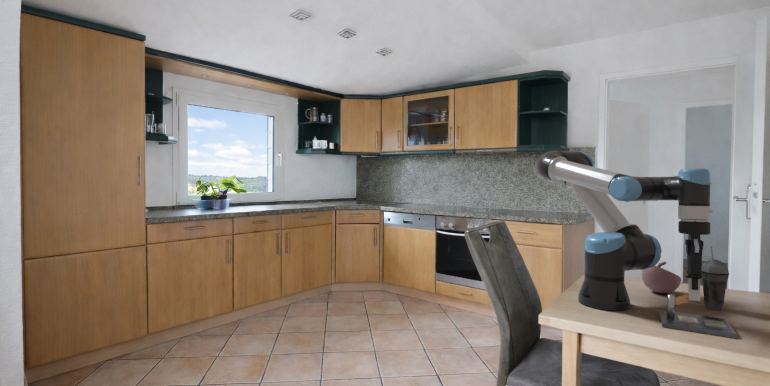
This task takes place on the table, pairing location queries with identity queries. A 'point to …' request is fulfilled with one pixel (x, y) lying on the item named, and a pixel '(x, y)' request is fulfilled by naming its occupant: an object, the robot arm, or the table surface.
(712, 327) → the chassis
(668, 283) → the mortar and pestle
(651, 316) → the table surface
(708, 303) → the beverage cup
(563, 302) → the table surface
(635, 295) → the table surface
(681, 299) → the wooden lever handle
